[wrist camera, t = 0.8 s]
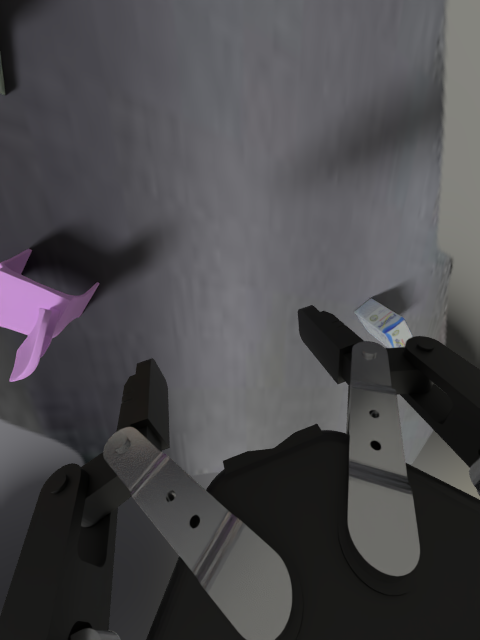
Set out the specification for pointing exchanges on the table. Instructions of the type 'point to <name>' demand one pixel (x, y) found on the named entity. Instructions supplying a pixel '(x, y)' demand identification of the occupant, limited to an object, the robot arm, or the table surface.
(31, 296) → the toy chair
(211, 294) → the table surface
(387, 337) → the medicine box
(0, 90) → the tray
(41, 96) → the table surface
